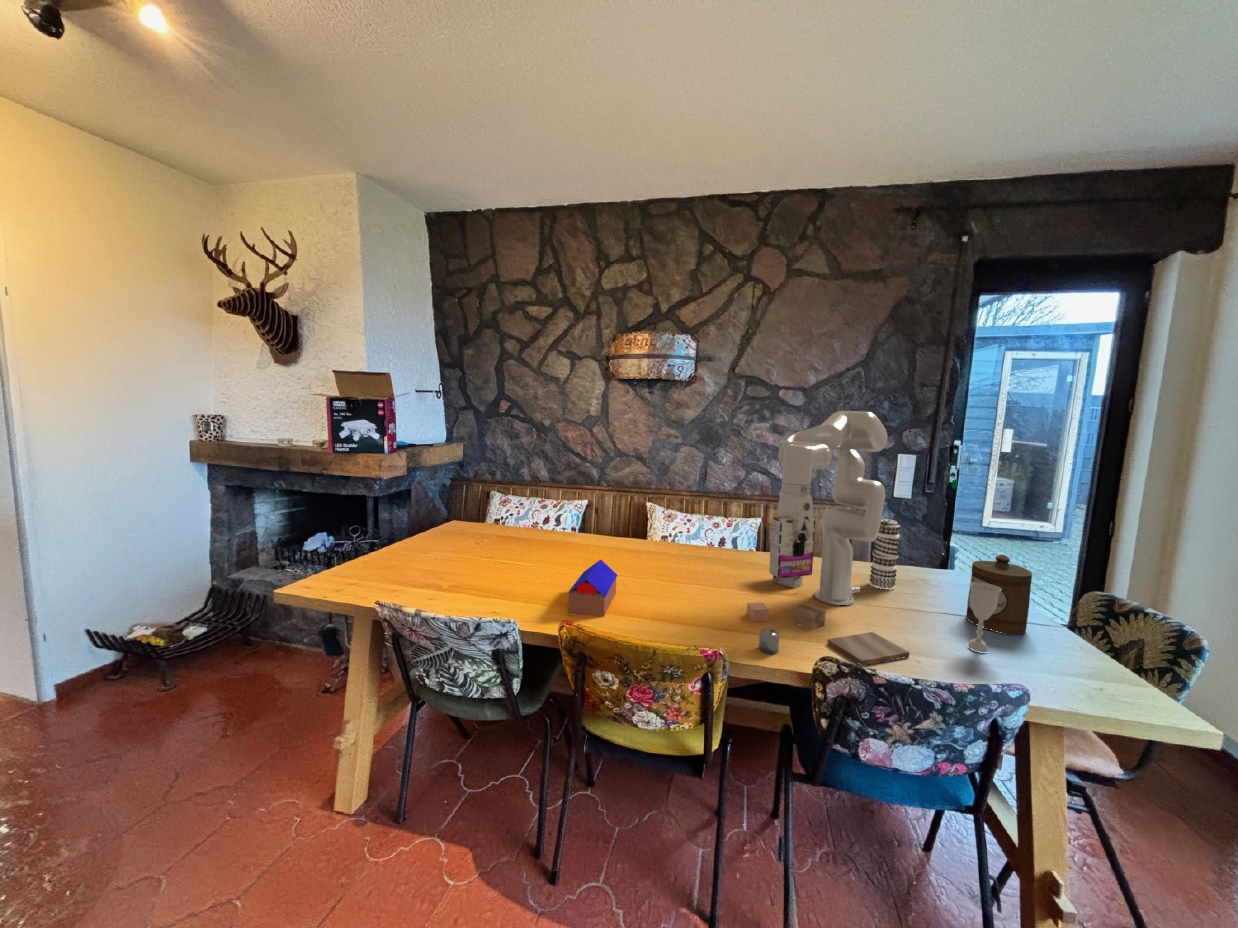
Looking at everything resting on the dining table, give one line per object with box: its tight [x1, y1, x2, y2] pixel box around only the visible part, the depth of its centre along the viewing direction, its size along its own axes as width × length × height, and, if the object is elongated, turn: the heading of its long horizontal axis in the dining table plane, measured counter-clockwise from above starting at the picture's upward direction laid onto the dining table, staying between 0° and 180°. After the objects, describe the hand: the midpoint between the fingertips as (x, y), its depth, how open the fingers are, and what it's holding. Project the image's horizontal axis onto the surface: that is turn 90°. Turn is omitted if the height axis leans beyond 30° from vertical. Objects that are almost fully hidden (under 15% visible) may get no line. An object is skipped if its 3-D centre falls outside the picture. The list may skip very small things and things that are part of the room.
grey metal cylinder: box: [758, 627, 780, 656], centre depth 132 cm, size 5×5×5 cm
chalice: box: [967, 582, 1002, 652], centre depth 135 cm, size 7×7×18 cm
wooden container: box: [965, 554, 1033, 635], centre depth 151 cm, size 15×15×22 cm
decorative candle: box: [869, 518, 902, 589], centre depth 181 cm, size 9×9×25 cm
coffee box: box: [772, 575, 804, 589], centre depth 182 cm, size 9×6×16 cm
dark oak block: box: [794, 603, 827, 631], centre depth 149 cm, size 6×6×5 cm
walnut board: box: [827, 631, 910, 666], centre depth 133 cm, size 16×12×2 cm
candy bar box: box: [768, 516, 816, 578], centre depth 138 cm, size 11×5×16 cm, turn 105°
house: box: [567, 559, 618, 617], centre depth 160 cm, size 12×20×12 cm, turn 169°
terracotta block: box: [746, 602, 770, 623], centre depth 152 cm, size 5×5×4 cm
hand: (791, 551), depth 138 cm, fingers closed on candy bar box, 5 cm apart
